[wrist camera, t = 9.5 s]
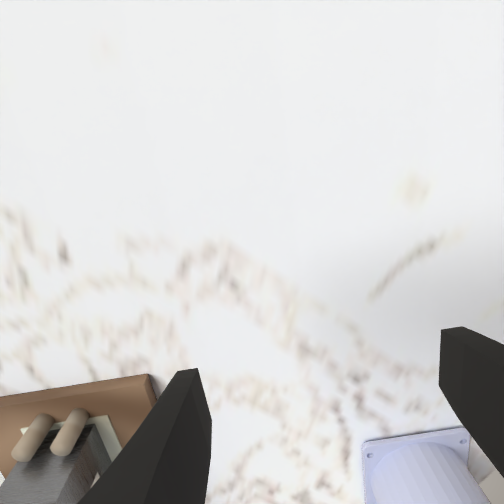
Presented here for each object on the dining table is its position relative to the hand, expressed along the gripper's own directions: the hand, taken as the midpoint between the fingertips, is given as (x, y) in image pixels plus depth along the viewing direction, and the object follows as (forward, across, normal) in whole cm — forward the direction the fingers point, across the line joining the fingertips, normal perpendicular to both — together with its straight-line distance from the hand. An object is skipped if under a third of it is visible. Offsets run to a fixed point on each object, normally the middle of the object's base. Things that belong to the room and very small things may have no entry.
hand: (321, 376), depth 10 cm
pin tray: (+10, +16, +15) cm, 24 cm away
